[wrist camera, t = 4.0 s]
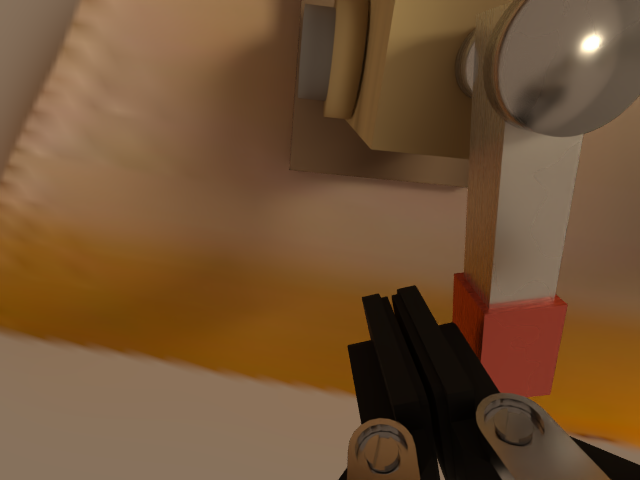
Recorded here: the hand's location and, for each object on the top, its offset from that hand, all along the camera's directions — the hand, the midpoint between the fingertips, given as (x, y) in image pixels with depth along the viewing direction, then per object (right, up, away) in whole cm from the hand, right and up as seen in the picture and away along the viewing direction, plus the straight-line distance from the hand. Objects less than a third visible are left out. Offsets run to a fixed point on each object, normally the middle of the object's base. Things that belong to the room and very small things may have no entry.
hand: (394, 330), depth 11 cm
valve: (+2, +11, +6) cm, 13 cm away
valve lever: (+2, +4, -1) cm, 5 cm away
